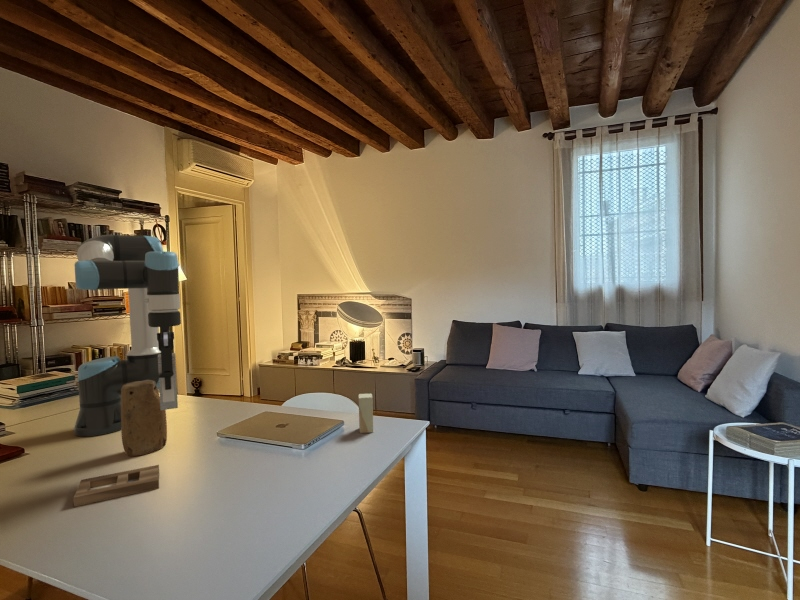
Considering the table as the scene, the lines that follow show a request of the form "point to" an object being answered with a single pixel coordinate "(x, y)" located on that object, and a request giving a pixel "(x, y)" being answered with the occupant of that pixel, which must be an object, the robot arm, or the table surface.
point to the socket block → (117, 485)
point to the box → (365, 413)
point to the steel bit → (174, 403)
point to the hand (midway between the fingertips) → (168, 398)
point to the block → (142, 418)
